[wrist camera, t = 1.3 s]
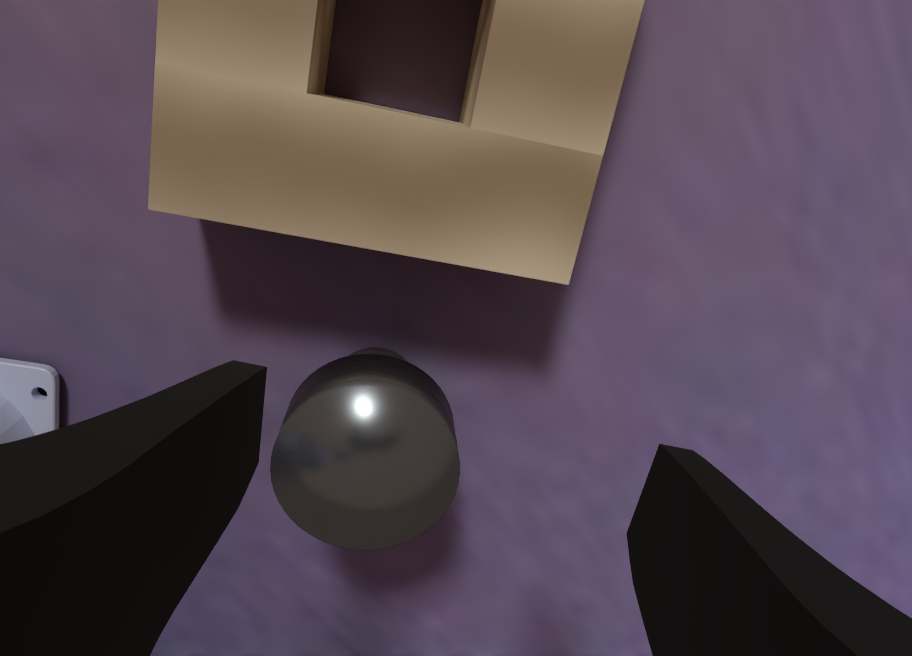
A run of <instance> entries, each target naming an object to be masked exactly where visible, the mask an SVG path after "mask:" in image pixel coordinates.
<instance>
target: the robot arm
mask: <svg viewBox="0 0 912 656" xmlns="http://www.w3.org/2000/svg"><path fill="white" fill-rule="evenodd" d="M266 372H267V367H264V366H259V365H254V364H249V363H244V362H239V361H234V360H233V361H230V362H227V363H224V364H222V365H219V366H217V367H215V368H212V369H210V370H208V371H205V372H203V373H201V374H199V375H196V376H194V377H192V378H190V379H187V380H185V381H183V382H180V383H178V384H176V385H174V386H171V387H169V388H167V389H164V390H162V391H160V392H157V393H155V394H153V395H151V396H148V397H146V398H143V399H141V400H138V401H135V402H133V403H130V404H127V405H125V406H122V407H120V408H117V409H114V410H112V411H109V412H107V413H104V414H101V415H99V416H96V417H93V418H90V419H88V420H85V421H82V422H79V423H76V424H72V425H69V426H66V427H63V428H60V429H59V375H58V373H57V372H56V370H55V369H54V368H52V367H51V366H48V365H45V364H39V363H32V362H25V361H19V360H12V359H5V358H0V656H150V654H151V652H152V650H153V648H154V646H155V644H156V642H157V640H158V638H159V636H160V634H161V633H162V631H163V629H164V627H165V626H166V624H167V622H168V620H169V619H170V617H171V615H172V613H173V612H174V610H175V608H176V607H177V605H178V604H179V602H180V600H181V599H182V597H183V596H184V594H185V592H186V591H187V589H188V588H189V586H190V585H191V583H192V581H193V580H194V578H195V577H196V575H197V573H198V572H199V570H200V569H201V567H202V565H203V564H204V562H205V561H206V559H207V558H208V556H209V554H210V553H211V551H212V550H213V548H214V546H215V545H216V543H217V542H218V540H219V538H220V537H221V535H222V534H223V532H224V530H225V529H226V527H227V525H228V524H229V522H230V521H231V519H232V517H233V516H234V514H235V512H236V511H237V509H238V507H239V505H240V503H241V501H242V498H243V496H244V494H245V492H246V490H247V488H248V485H249V483H250V481H251V478H252V476H253V474H254V472H255V469H256V467H257V465H258V462H259V451H260V440H261V429H262V417H263V406H264V394H265V383H266ZM37 387H40V388H43V389H44V390H45V391H46V392H47V396H44V395H41V394H40V393H39V392H38V389H37ZM627 540H628V549H629V558H630V565H631V572H632V579H633V585H634V589H635V593H636V597H637V600H638V604H639V608H640V611H641V615H642V619H643V622H644V626H645V630H646V633H647V637H648V640H649V644H650V647H651V651H652V654H653V656H912V618H910V617H908V616H907V615H905V614H904V613H902V612H901V611H899V610H897V609H896V608H894V607H893V606H891V605H890V604H888V603H887V602H885V601H884V600H883V599H881V598H880V597H878V596H877V595H875V594H874V593H872V592H871V591H869V590H868V589H866V588H865V587H863V586H862V585H860V584H859V583H858V582H856V581H855V580H853V579H852V578H850V577H849V576H848V575H846V574H845V573H844V572H842V571H841V570H839V569H838V568H837V567H835V566H834V565H833V564H831V563H830V562H829V561H827V560H826V559H825V558H824V557H822V556H821V555H820V554H818V553H817V552H816V551H815V550H813V549H812V548H811V547H809V546H808V545H807V544H806V543H804V542H803V541H802V540H800V539H799V538H798V537H797V536H796V535H794V534H793V533H792V532H791V531H789V530H788V529H787V528H786V527H785V526H783V525H782V524H781V523H780V522H779V521H777V520H776V519H775V518H774V517H773V516H771V515H770V514H769V513H768V512H767V511H766V510H764V509H763V508H762V507H761V506H760V505H759V504H757V503H756V502H755V501H754V500H753V499H752V498H750V497H749V496H748V495H747V494H746V493H745V492H743V491H742V490H741V489H740V488H739V487H738V486H737V485H735V484H734V483H733V482H732V481H731V480H730V479H728V478H727V477H726V476H725V475H724V474H723V473H721V472H720V471H719V470H718V469H717V468H715V467H714V466H713V465H712V464H711V463H709V462H708V461H707V460H705V459H704V458H703V457H701V456H700V455H699V454H697V453H696V452H694V451H693V450H688V449H683V448H678V447H673V446H668V445H663V444H659V447H658V449H657V452H656V455H655V458H654V460H653V463H652V466H651V468H650V471H649V474H648V477H647V479H646V482H645V485H644V488H643V490H642V493H641V496H640V498H639V501H638V504H637V507H636V509H635V512H634V515H633V517H632V520H631V523H630V526H629V528H628V531H627Z"/></svg>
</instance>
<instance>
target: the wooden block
mask: <svg viewBox="0 0 912 656" xmlns="http://www.w3.org/2000/svg"><path fill="white" fill-rule="evenodd" d="M644 1H645V0H482V5H481V10H480V15H479V20H478V26H477V31H476V36H475V41H474V46H473V51H472V56H471V62H470V67H469V72H468V77H467V82H466V87H465V92H464V98H463V103H462V108H461V113H460V118H459V122H455V121H451V120H446V119H441V118H436V117H432V116H427V115H422V114H417V113H413V112H408V111H403V110H398V109H394V108H389V107H384V106H380V105H375V104H370V103H365V102H361V101H356V100H351V99H346V98H342V97H337V96H332V95H327V94H324V91H325V84H326V76H327V68H328V60H329V53H330V45H331V37H332V29H333V22H334V14H335V6H336V0H158V16H157V37H156V57H155V77H154V97H153V118H152V138H151V158H150V179H149V199H148V209H150V210H155V211H161V212H166V213H172V214H177V215H183V216H188V217H194V218H200V219H205V220H211V221H216V222H222V223H227V224H233V225H238V226H244V227H250V228H255V229H261V230H266V231H272V232H277V233H283V234H288V235H294V236H299V237H305V238H311V239H316V240H322V241H327V242H333V243H338V244H344V245H349V246H355V247H361V248H366V249H372V250H377V251H383V252H388V253H394V254H399V255H405V256H410V257H416V258H422V259H427V260H433V261H438V262H444V263H449V264H455V265H460V266H466V267H471V268H477V269H483V270H488V271H494V272H499V273H505V274H510V275H516V276H521V277H527V278H533V279H538V280H544V281H549V282H555V283H560V284H566V285H569V282H570V278H571V274H572V271H573V267H574V263H575V259H576V256H577V252H578V248H579V244H580V241H581V237H582V233H583V229H584V226H585V222H586V218H587V214H588V211H589V207H590V203H591V199H592V196H593V192H594V188H595V184H596V181H597V177H598V173H599V169H600V166H601V162H602V158H603V155H604V151H605V147H606V143H607V140H608V136H609V132H610V128H611V125H612V121H613V117H614V113H615V110H616V106H617V102H618V98H619V95H620V91H621V87H622V83H623V80H624V76H625V72H626V68H627V65H628V61H629V57H630V53H631V50H632V46H633V42H634V38H635V35H636V31H637V27H638V24H639V20H640V16H641V12H642V9H643V5H644Z"/></svg>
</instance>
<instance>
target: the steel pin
mask: <svg viewBox="0 0 912 656" xmlns="http://www.w3.org/2000/svg"><path fill="white" fill-rule="evenodd" d="M270 472H271V481H272V485H273V489H274V492H275V495H276V497H277V499H278V502H279V503H280V505H281V506H282V508H283V510H284V511H285V512H286V514H287V515H288V516H289V517H290V519H291V520H292V521H293V522H294V523H296V524H297V525H298V526H299V527H300V528H301V529H303V530H304V531H305V532H307V533H308V534H310V535H312V536H313V537H315V538H317V539H319V540H321V541H324V542H326V543H328V544H332V545H335V546H338V547H343V548H349V549H358V550H372V549H381V548H388V547H391V546H395V545H399V544H401V543H404V542H406V541H409V540H411V539H413V538H415V537H417V536H419V535H420V534H422V533H423V532H425V531H426V530H428V529H429V528H430V527H431V526H432V525H433V524H435V523H436V522H437V521H438V520H439V519H440V517H441V516H442V515H443V514H444V513H445V511H446V510H447V508H448V507H449V505H450V504H451V501H452V499H453V497H454V495H455V492H456V489H457V486H458V482H459V475H460V461H459V454H458V448H457V441H456V435H455V428H454V422H453V415H452V411H451V408H450V405H449V403H448V400H447V398H446V396H445V394H444V393H443V391H442V390H441V388H440V387H439V386H438V385H437V383H436V382H435V381H434V380H433V379H432V378H431V377H430V376H429V375H428V374H426V373H425V372H424V371H422V370H421V369H419V368H418V367H416V366H415V365H413V364H411V363H409V362H407V361H405V359H403V358H402V357H401V356H400V355H398V354H397V353H395V352H393V351H391V350H388V349H384V348H377V347H375V348H365V349H361V350H359V351H356V352H354V353H352V354H351V355H349V356H347V357H343V358H339V359H337V360H334V361H332V362H329V363H327V364H326V365H324V366H322V367H320V368H319V369H317V370H316V371H315V372H313V373H312V374H311V375H309V376H308V378H307V379H306V380H305V381H304V382H303V383H302V384H301V385H300V386H299V388H298V389H297V390H296V392H295V394H294V396H293V397H292V399H291V401H290V404H289V407H288V410H287V412H286V415H285V418H284V420H283V423H282V426H281V428H280V431H279V434H278V437H277V439H276V442H275V445H274V447H273V451H272V456H271V466H270Z"/></svg>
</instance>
